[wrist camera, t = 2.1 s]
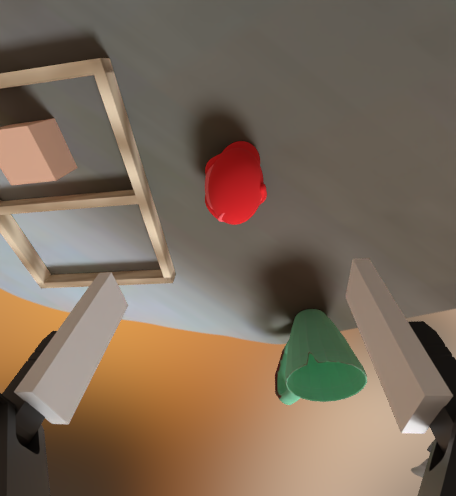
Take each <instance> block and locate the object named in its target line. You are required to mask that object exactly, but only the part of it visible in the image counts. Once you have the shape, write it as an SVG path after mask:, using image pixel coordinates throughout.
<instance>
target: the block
mask: <svg viewBox="0 0 456 496" xmlns="http://www.w3.org/2000/svg"><path fill="white" fill-rule="evenodd" d="M0 168H1V170H2V171H3V173H4V174H5V176H6V177H7V179H8V181H9V182H10V184H11V185H20V184H29V183H39V182H48V181H56V180H58V179H60V178H61V177H63V176H65V175H66V174H68V173H70V172H71V171H73V170H75V169H76V168H77V166H76V164H75V161H74V159H73V157H72V155H71V153H70V151H69V149H68V146H67V144H66V142H65V140H64V138H63V136H62V133H61V131H60V129H59V127H58V125H57V123H56V121H55V118H53V119H46V120H39V121H32V122H25V123H18V124H11V125H7V126H3V127H0Z"/></svg>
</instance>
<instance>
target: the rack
mask: <svg viewBox="0 0 456 496" xmlns="http://www.w3.org/2000/svg"><path fill="white" fill-rule="evenodd" d="M91 75H94V76H95V79H96V82H97V85H98V88H99V91H100V94H101V97H102V100H103V103H104V105H105V108H106V111H107V114H108V117H109V120H110V123H111V126H112V129H113V132H114V134H115V137H116V140H117V143H118V146H119V149H120V152H121V155H122V158H123V161H124V164H125V166H126V169H127V172H128V175H129V178H130V181H131V184H132V187H133V190H123V191H111V192H100V193H88V194H77V195H65V196H54V197H43V198H31V199H20V200H8V201H2V200H1V199H0V233H1V234H2V236H3V237H4V238H5V240H6V241H7V242H8V244H9V245H10V247H11V248H12V249H13V251H14V252H15V253H16V255H17V256H18V257H19V259H20V260H21V262H22V263H23V264H24V266H25V267H26V268H27V270H28V271H29V272H30V274H31V275H32V277H33V278H34V279H35V281H36V282H37V283H38V285H39V286H40V288H59V287H84V286H90V285H91V284H92V282H93V281H94V279H95V278H96V277H97V275H98V274H99V273H106V272H97V273H76V274H54V275H51V273H50V272H49V270H48V269H47V267H46V266H45V264H44V263H43V261H42V260H41V258H40V257H39V255H38V254H37V252H36V251H35V249H34V248H33V246H32V245H31V244H30V242H29V241H28V239H27V238H26V236H25V235H24V233H23V232H22V230H21V229H20V227H19V226H18V224H17V223H16V221H15V220H14V218H13V217H12V215H11V214H17V213H30V212H42V211H55V210H67V209H80V208H92V207H104V206H117V205H129V204H139V207H140V210H141V213H142V216H143V219H144V222H145V224H146V227H147V230H148V233H149V236H150V239H151V242H152V245H153V248H154V251H155V253H156V256H157V259H158V262H159V265H160V268H161V270H140V271H118V272H112V274H113V276H114V278H115V280H116V282H117V284H118V285H134V284H159V283H173V281H174V278H175V275H176V273H175V270H174V267H173V263H172V260H171V257H170V254H169V250H168V247H167V244H166V241H165V237H164V234H163V231H162V227H161V224H160V221H159V218H158V214H157V211H156V208H155V205H154V201H153V198H152V195H151V192H150V188H149V185H148V182H147V178H146V175H145V172H144V169H143V165H142V162H141V159H140V156H139V152H138V149H137V146H136V143H135V139H134V136H133V133H132V129H131V126H130V123H129V120H128V116H127V113H126V110H125V107H124V103H123V100H122V97H121V94H120V90H119V87H118V84H117V80H116V77H115V74H114V71H113V67H112V64H111V61H110V58H97V59H90V60H84V61H78V62H71V63H65V64H58V65H52V66H46V67H39V68H33V69H26V70H20V71H13V72H7V73H1V74H0V89H3V88H10V87H16V86H23V85H30V84H37V83H44V82H50V81H57V80H64V79H71V78H77V77H84V76H91Z"/></svg>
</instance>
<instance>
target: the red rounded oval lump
mask: <svg viewBox="0 0 456 496" xmlns="http://www.w3.org/2000/svg"><path fill="white" fill-rule="evenodd" d="M205 174H206V178H205V193H206V195H205V203H206V206H207V208H208V210H209V211H210V213H211V214H212V215H213V216H214V217H215V218H217V219H218V221H220V222H226V223H228V224H234V225H235V224H241V223H243V222H245V221H247V220H248V219H249V218H251V217H252V216H253V214H254V213H255V212H256V210H257V208H258V207H259V205H260V204H261V203H263V202H264V201H265V199H266V196H267V192H266V186H265V184H264V183H263V174H262V170H261V167H260V157H259V153H258V151H257V149H256V148H255V147H254V146H253V145H252V144H250V143H248V142H245V141H237V142H234V143H232V144H230V145H228V146H227V147H226V148H225V149H224V150H223V152H222V153H221V154H219V155H217V156H214V157H213V158H211V159H210V160H209V161H208V162H207V164H206V168H205Z"/></svg>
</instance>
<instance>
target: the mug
mask: <svg viewBox="0 0 456 496" xmlns="http://www.w3.org/2000/svg"><path fill="white" fill-rule="evenodd" d="M366 383H367V375H366V373H365V370H364V368H363V366H362V365H361V363H360V362H359V360H358V359H357V357H356V356H355V354H354V352H353V351H352V349H351V348H350V346H349V344H348V343H347V341H346V339H345V338H344V337H343V335H342V334H341V333H340V331H339V330H338V329H337V327H336V326H335V325H334V323H333V322H332V321H331V320H330V319H329V318H328V317H327V316H326V315H325V313H324V312H322V311H320V310H317V309H307V310H303V311H301V312H300V313H298V314H297V315H296V317H295V319H294V323H293V326H292V329H291V334H290V339H289V341H288V342H287V344H286V346H285V348H284V349H283V351H282V354H281V358H280V361H279V364H278V368H277V371H276V374H275V390H276V391H275V392H276V395H277V396H278V398H279V399H280V400H281V401H282V402H283V403H284V404H287V405H291V404H293V403H294V402H296V401H298V400H299V399H300V398H302V399H306V400H311V401H322V402H326V401H336V400H341V399H345V398H348V397H351V396H353V395H355V394H357V393H358V392H359V391H361V390H362V389H363V388H364V387H365V385H366Z"/></svg>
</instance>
